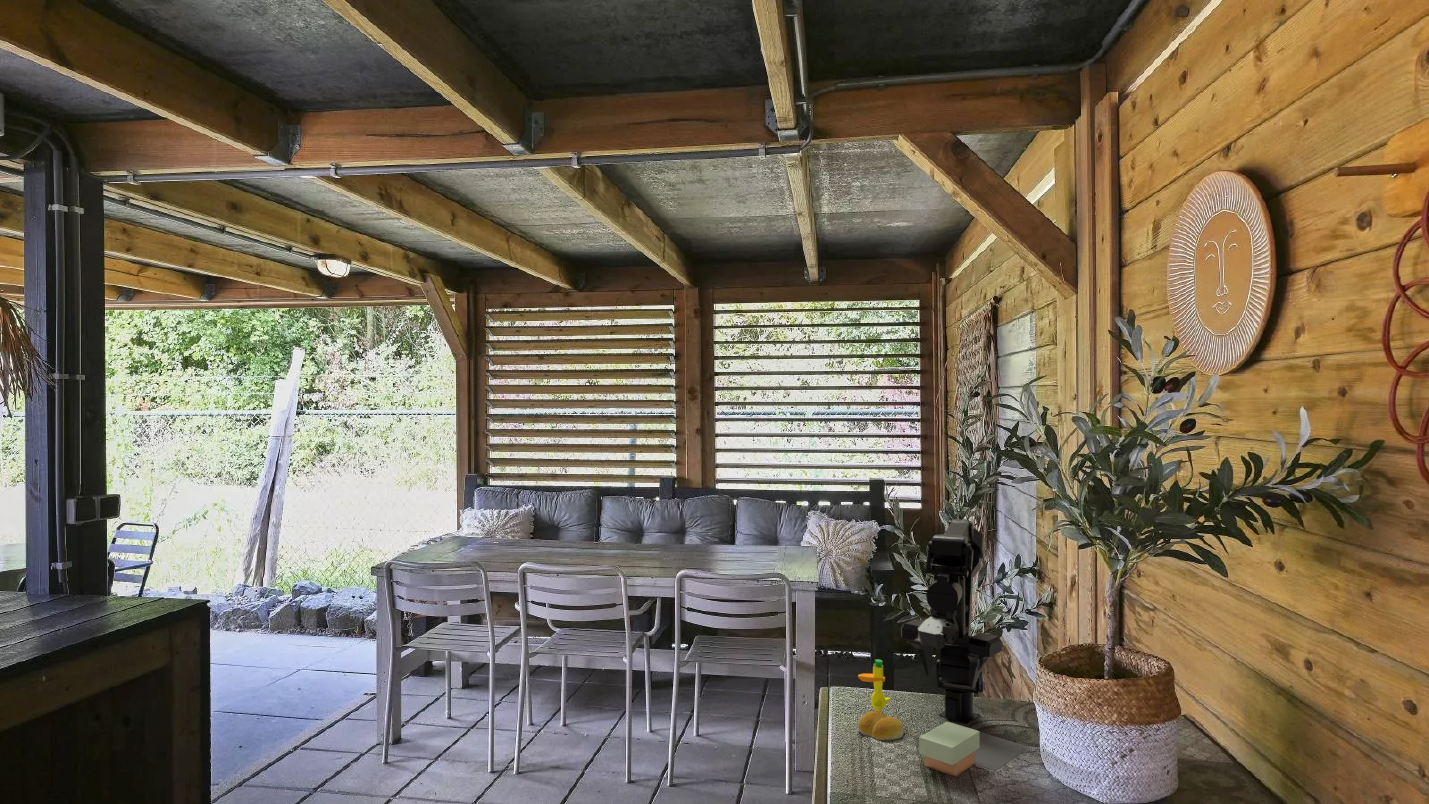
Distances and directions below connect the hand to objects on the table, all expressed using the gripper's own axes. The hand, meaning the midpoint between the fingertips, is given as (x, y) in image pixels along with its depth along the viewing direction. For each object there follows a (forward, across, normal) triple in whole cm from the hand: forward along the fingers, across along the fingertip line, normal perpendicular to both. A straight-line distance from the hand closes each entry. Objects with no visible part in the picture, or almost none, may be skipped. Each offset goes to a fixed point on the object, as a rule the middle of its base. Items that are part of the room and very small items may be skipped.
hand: (950, 681), depth 154 cm
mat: (+12, +7, +1) cm, 14 cm away
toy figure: (+12, -18, +1) cm, 22 cm away
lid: (+9, +5, -10) cm, 14 cm away
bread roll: (+12, -12, -5) cm, 18 cm away
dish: (+12, +5, -10) cm, 16 cm away
